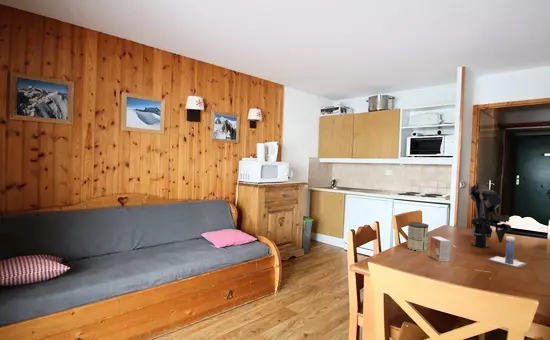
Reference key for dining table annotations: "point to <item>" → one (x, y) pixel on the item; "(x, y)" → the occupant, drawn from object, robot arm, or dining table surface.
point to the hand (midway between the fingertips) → (492, 240)
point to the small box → (440, 248)
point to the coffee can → (417, 236)
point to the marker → (509, 249)
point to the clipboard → (502, 261)
